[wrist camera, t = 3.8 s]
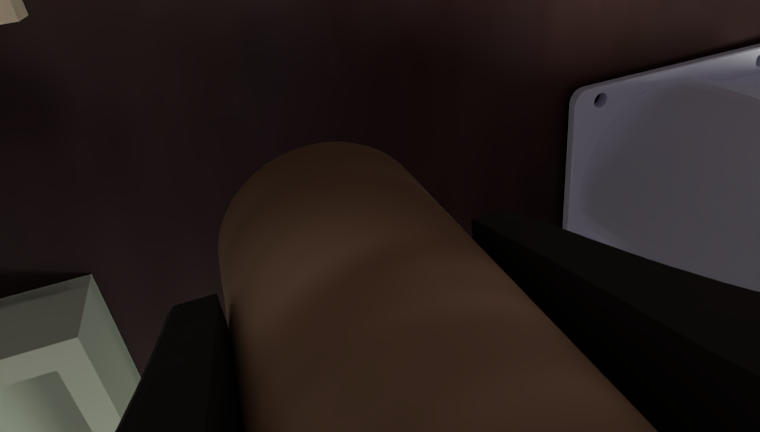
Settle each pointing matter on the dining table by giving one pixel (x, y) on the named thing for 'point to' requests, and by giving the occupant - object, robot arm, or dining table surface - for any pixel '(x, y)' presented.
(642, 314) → the robot arm
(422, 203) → the plug
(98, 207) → the dining table surface
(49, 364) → the tray
